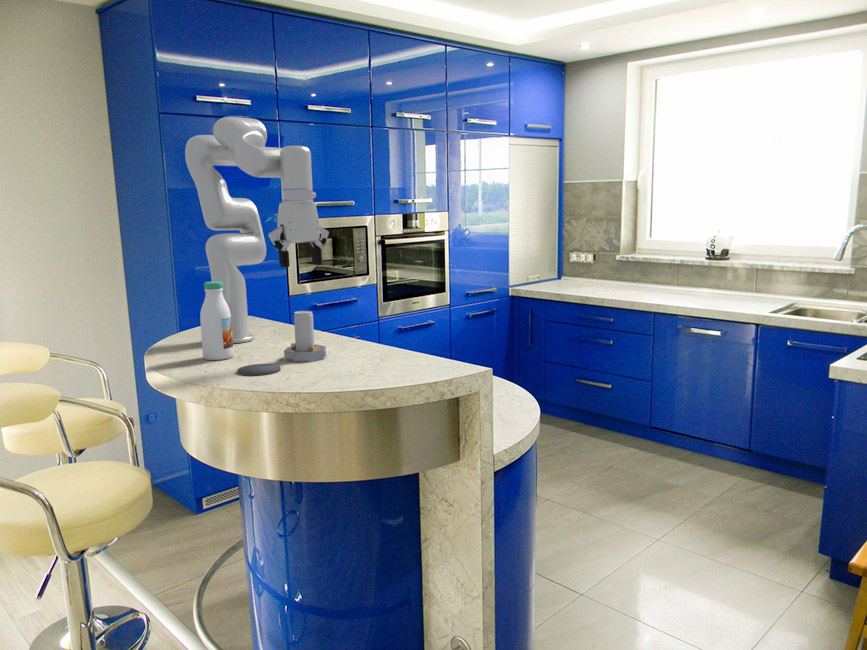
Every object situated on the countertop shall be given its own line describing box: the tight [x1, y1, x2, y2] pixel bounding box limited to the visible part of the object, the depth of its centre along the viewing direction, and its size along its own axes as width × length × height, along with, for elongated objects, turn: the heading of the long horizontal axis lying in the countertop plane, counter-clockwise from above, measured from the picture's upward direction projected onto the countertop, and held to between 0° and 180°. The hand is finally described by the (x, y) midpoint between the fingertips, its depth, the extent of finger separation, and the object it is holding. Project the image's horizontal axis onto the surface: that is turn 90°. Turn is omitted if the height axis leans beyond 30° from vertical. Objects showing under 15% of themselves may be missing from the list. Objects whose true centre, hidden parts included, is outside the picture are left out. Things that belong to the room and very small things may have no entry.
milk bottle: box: [199, 281, 235, 361], centre depth 178 cm, size 8×8×20 cm
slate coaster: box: [236, 363, 281, 377], centre depth 164 cm, size 10×10×1 cm
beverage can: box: [293, 310, 315, 351], centre depth 177 cm, size 5×5×12 cm
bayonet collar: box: [283, 342, 327, 363], centre depth 178 cm, size 10×10×3 cm
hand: (301, 265), depth 174 cm, fingers open, 9 cm apart
